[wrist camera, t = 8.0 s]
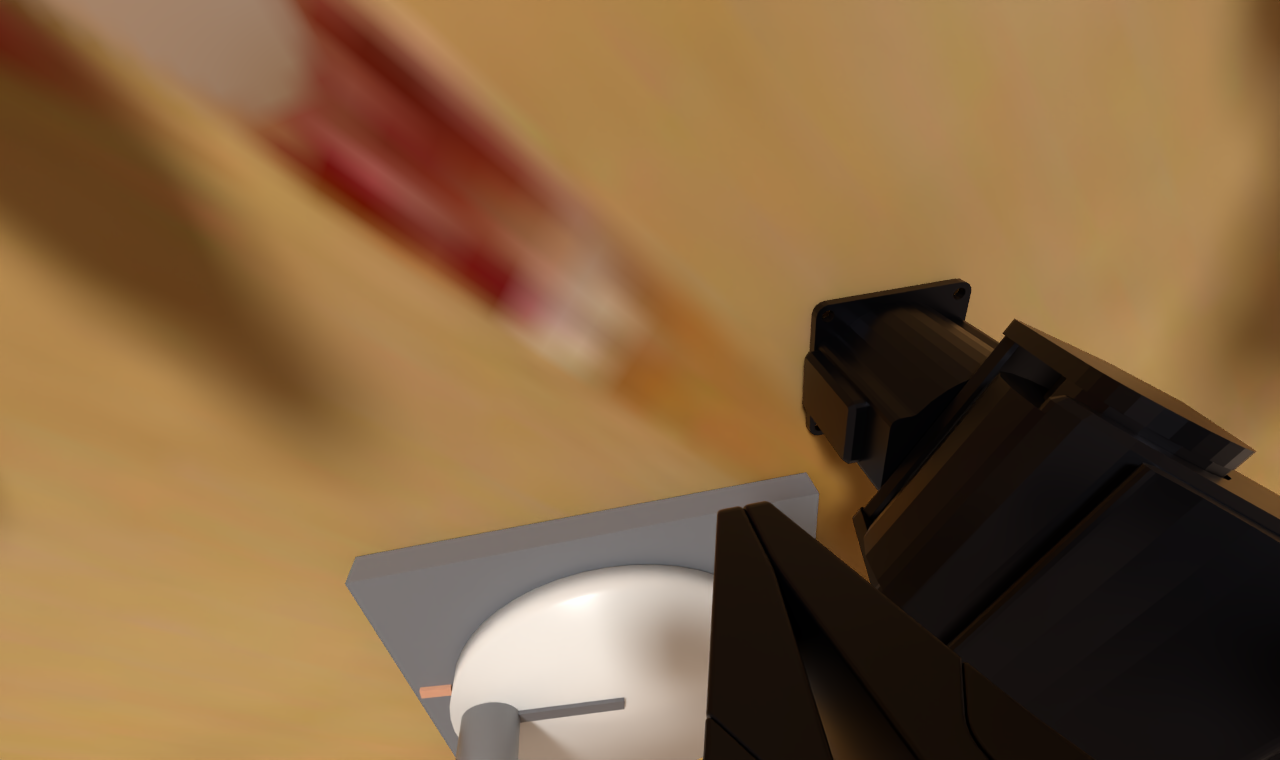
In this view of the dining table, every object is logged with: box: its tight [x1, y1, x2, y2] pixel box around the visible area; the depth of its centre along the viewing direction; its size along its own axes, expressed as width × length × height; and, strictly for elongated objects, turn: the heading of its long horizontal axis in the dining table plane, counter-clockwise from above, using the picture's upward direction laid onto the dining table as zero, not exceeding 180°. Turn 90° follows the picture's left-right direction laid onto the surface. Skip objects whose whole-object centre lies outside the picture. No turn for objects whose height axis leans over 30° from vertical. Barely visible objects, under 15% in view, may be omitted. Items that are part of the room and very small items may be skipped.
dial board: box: [345, 473, 819, 757], centre depth 31 cm, size 22×22×2 cm
